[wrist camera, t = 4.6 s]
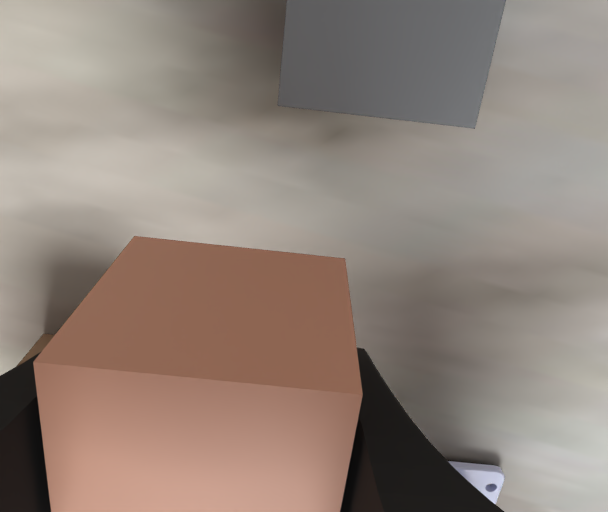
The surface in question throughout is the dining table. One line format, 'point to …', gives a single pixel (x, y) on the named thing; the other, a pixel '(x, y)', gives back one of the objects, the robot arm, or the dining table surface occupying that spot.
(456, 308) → the dining table surface
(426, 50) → the gray block
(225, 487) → the terracotta block
